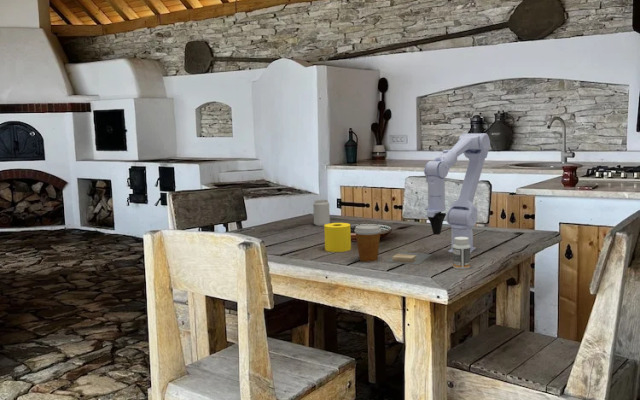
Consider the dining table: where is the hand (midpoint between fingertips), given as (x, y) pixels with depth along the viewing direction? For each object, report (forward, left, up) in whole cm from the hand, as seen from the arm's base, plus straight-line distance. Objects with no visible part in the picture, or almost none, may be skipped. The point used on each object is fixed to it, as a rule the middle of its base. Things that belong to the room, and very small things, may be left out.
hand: (436, 234), depth 215 cm
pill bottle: (+10, +11, -9) cm, 17 cm away
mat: (+4, -9, -9) cm, 13 cm away
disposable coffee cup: (+10, -22, -9) cm, 26 cm away
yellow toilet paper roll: (-3, -40, -9) cm, 41 cm away
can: (-49, -70, -9) cm, 86 cm away
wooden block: (+6, -9, -8) cm, 13 cm away
